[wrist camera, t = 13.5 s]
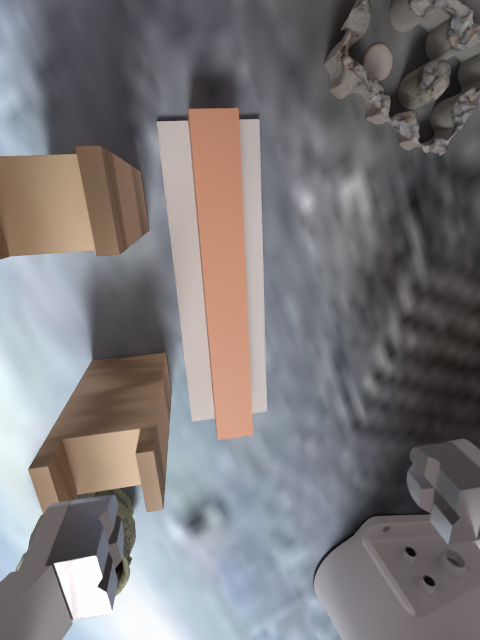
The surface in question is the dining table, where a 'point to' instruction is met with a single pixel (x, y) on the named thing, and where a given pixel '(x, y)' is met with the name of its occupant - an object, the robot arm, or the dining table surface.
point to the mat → (189, 262)
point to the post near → (70, 203)
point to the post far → (109, 433)
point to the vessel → (128, 525)
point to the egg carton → (423, 83)
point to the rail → (223, 263)
